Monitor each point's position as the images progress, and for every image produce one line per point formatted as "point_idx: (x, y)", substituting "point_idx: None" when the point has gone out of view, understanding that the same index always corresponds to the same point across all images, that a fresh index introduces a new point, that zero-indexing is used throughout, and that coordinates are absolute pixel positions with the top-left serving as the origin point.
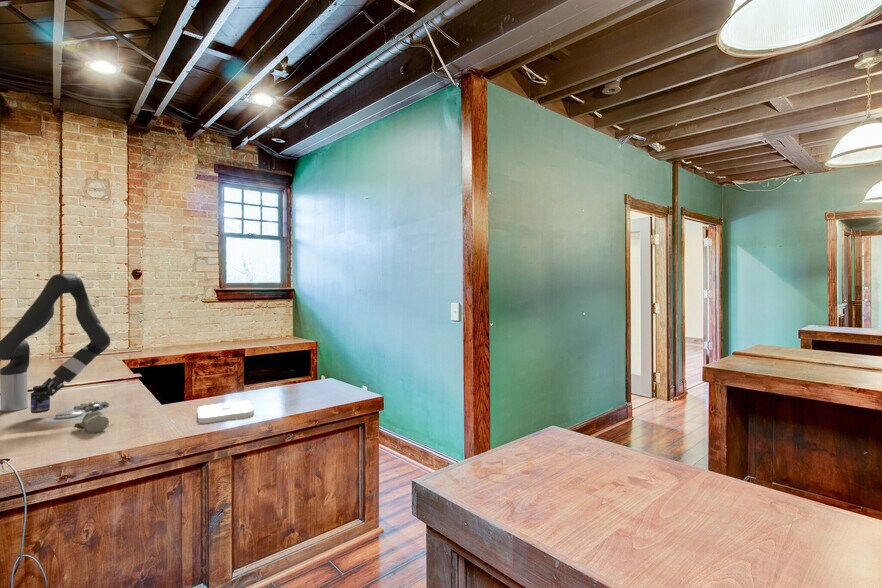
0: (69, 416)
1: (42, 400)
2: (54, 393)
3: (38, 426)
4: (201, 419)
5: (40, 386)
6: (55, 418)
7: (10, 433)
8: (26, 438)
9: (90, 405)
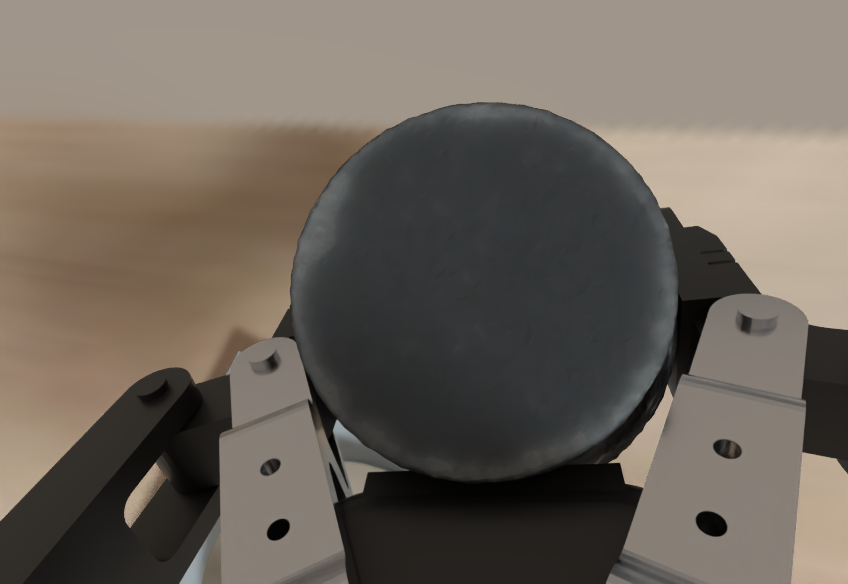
0: (215, 561)
1: None
2: (156, 512)
3: None
4: None
5: (442, 278)
6: (342, 457)
7: (268, 139)
8: (34, 209)
9: None
